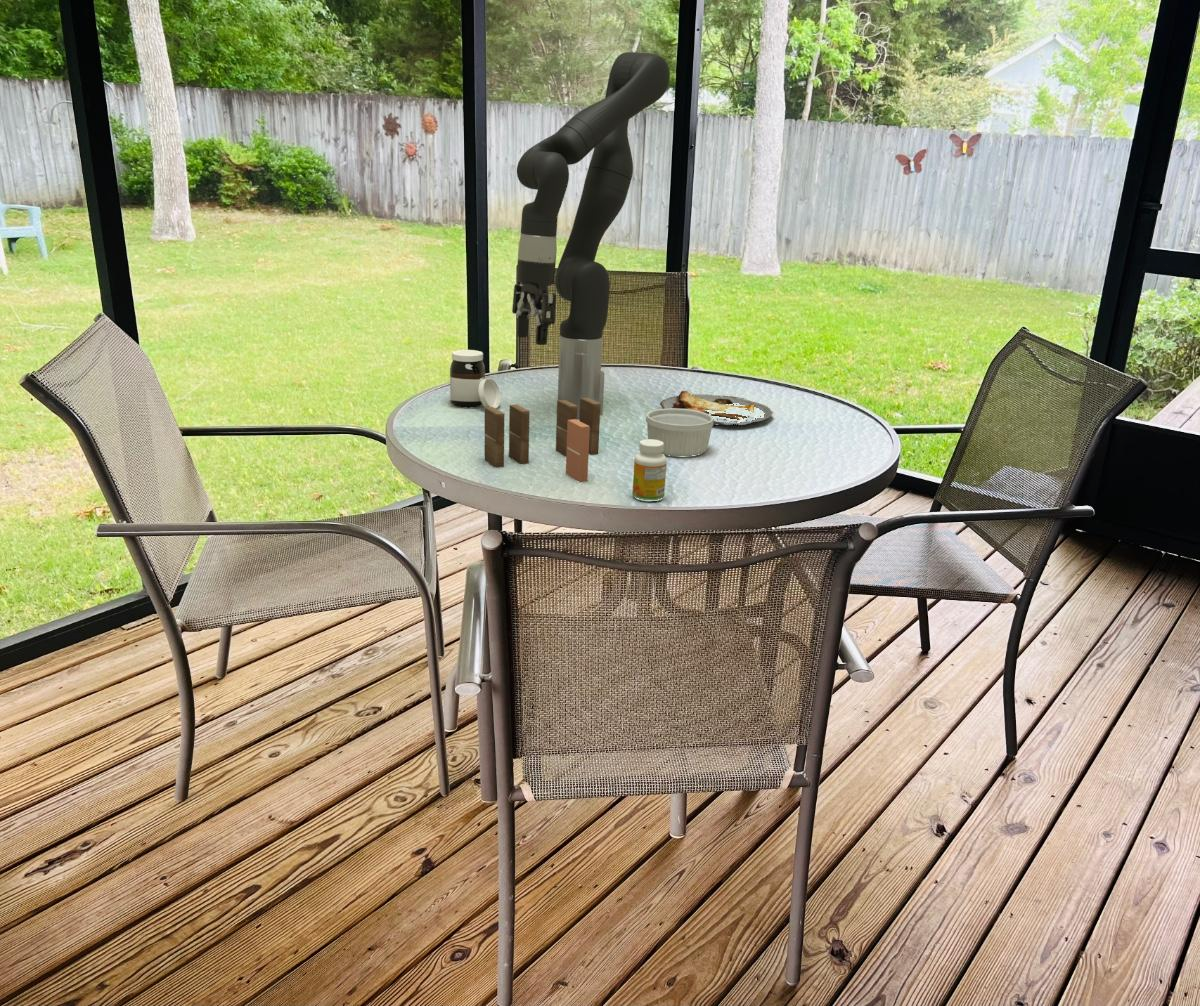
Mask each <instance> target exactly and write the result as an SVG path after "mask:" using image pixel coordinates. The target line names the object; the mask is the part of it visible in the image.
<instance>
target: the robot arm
mask: <svg viewBox="0 0 1200 1006" xmlns="http://www.w3.org/2000/svg"><path fill="white" fill-rule="evenodd" d="M670 71H671V70H670V67H669V64H668V62H667V60H666V59H665V58H664V57H663V56H661V55H659V54H655V53H650V52H635V51H634V52H633V51H628V52H622V53H620V54H619V55H617V57H616V58H615V60H614V61H613V64H612V66H611V68H610V72H609V76H608V80H607V85H606V90H605V91H606V92H605V97H604V98H602V99H601V100H599V101H597V102H594V103H593V104H590V105H588V106H586V107H584V108H583V109H581V110H580V111H579V112H577V113H576V114H575V115H573V116H572V117H571V118H570V119H569V120H568V121H567V122H565V124H563V125H562V126H561V127H560V128H559V129H558V131H556V132H555V133H554V134H552V135H550V136H548V137H545V138H544V139H542V140H541V141H540V142H537V143H536V144H535V145H533V146H531V147H530V148H528V149H527V150H526V151H525V152H524V153H523V154H522V156H521V157H520V158H519V161H518V162H517V167H516V175H517V180H518V181H519V183H520V184H521V185H522V186H524V187H525V188H527V189H531V190H537V191H536V195H535V197H534V201H532V202H531V201H530V202H527V203H526V204H525V205H523V207H522V211H521V221H520V223H521V224H520V236H519V241H518V250H517V266H516V267H517V268H516V281H517V282H518V284H514V286H513V287H514V289H513V297H512V298H513V299H512V308H511V309H512V310H511V311H512V314H515V317H516V318H517V322H516V324H517V326H516V337H519V338H527V337H528V335H529V322H530V319H529V318H530V314H531V315H532V316H533V317H534V318H535V321H536V328H535V329H536V330H535V344H536V345H538V346H545V345H547V343H548V332H549V330H548V329H549V327H550V326H551V325H555V323H556V306H557V303H556V302H557V294H558V295H559V296H560V297H561V298H562V299H563V300H565V301H568V302H570V307H569V309H570V310H569V315H568V317H567V319H564V320H562V321H561V323H559V324H560V325H559V339H558V340H559V344H558V345H559V346H558V349H559V350H558V352H559V353H558V375H557V376H558V379H557V400H566V401H568V402H570V403H573V404H575V405H577V406H578V409H577V419H579V414H580V398H590V399H592V400H594V401H596V402H598V403H601V406H600V416H602V415H603V413H604V410H603V409H604V390H605V372H604V371H603V370H602V358H603V357H602V356H603V355H602V354H603V351H602V350H603V333H604V329H605V326H606V324H607V321H608V315H609V304H610V303H609V301H610V289H611V287H610V285H611V284H610V283H611V281H610V276H609V272H608V270H607V269H606V267H605V266H604V265H602V264H601V263H599V262H597V261H596V257H597V253H598V249H599V245H600V242H601V241H602V239H603V237H604V235H605V233H606V231H608V229H609V227H610V226H611V225H612V224H613V223H614V220H615V219H616V218H617V217H618V215H619V213H620V212H621V210H622V209H623V207H624V205H625V202H626V199H627V196H628V193H629V190H630V186H631V182H632V179H633V174H634V162H633V156H632V151H631V146H630V140H629V132H628V131H629V129H628V128H629V122H630V119H631V118H633V117H634V116H636V115H638V114H639V113H641V112H642V111H644V110H645V109H647V108H648V107H650V106H652V105H653V104H654V103H656V102H658V101H659V100H660V99H661V98H662V97H663V96H664V95H665V94H666V92H667V90H668V88H669V85H670V81H671V80H670V77H671V75H670V74H671V72H670ZM591 151H593V153H592V155H591V158H590V162H589V166H588V168H587V172H586V176H585V180H584V182H583V188H582V192H581V196H580V199H579V203H578V207H577V210H576V214H575V217H574V220H573V223H572V228H571V231H570V235H569V236H568V240H567V242H566V245H565V247H564V250H563V252H562V254H561V258H560V261H559V263H558V266H557V268H556V264H557V263H556V262H557V233H558V232H557V231H558V216H559V212H560V209H561V208H562V205H563V202H564V198H565V194H566V192H567V188H568V184H569V181H570V180H569V179H570V170H569V166H571V165H576V164H578V163H579V162H580V161H581V160H583V159H584V158H585V157H586V156H587V155H589V153H590V152H591ZM519 283H521V284H519ZM552 285H555V290H556V292H557V294H556V293H555V292H554V293H553V292H549V290H548V287H549V286H552Z"/></svg>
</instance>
